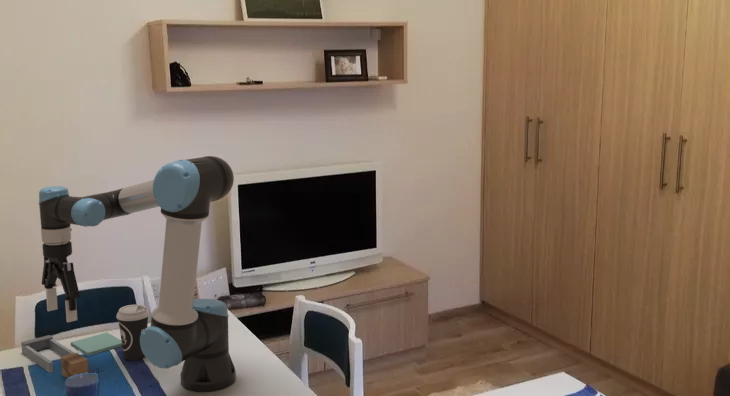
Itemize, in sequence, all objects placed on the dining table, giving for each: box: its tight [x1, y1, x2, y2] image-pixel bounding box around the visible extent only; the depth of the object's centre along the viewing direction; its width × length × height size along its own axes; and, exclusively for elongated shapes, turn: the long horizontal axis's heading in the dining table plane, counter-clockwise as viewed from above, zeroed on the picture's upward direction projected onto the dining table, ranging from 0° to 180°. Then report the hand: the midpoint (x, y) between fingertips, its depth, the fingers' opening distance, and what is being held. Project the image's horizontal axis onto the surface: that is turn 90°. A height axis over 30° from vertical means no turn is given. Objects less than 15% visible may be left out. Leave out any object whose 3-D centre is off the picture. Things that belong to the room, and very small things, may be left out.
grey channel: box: [20, 334, 76, 374], centre depth 210 cm, size 20×8×4 cm, turn 46°
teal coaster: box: [70, 332, 122, 357], centre depth 221 cm, size 12×12×1 cm
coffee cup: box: [115, 304, 151, 361], centre depth 212 cm, size 10×10×15 cm
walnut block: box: [60, 352, 89, 378], centre depth 199 cm, size 7×4×6 cm, turn 46°
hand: (62, 315), depth 200 cm, fingers open, 12 cm apart
